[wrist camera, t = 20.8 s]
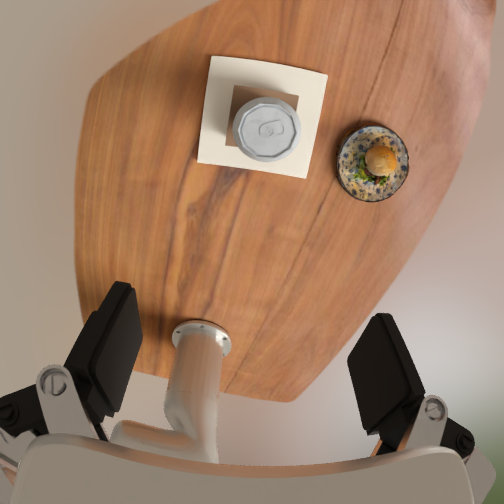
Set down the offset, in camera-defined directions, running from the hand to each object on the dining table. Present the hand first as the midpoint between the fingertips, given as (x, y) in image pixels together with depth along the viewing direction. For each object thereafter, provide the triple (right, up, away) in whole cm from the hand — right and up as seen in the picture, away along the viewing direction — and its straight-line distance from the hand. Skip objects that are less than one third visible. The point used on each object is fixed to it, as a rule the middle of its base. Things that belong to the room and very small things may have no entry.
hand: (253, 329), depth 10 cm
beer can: (+1, +17, +17) cm, 24 cm away
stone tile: (+1, +21, +23) cm, 31 cm away
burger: (+17, +16, +26) cm, 35 cm away
